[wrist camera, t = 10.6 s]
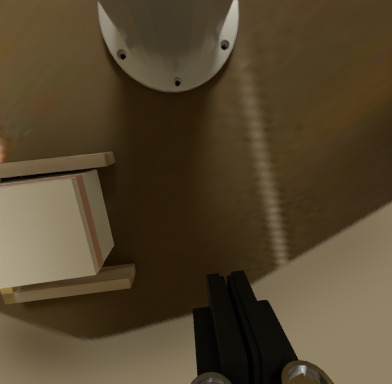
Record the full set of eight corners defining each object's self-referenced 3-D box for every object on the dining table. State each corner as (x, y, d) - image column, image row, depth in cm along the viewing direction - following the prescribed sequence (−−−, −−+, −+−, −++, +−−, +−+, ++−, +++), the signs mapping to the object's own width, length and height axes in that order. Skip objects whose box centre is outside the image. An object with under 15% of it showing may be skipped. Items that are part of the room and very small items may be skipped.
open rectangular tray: (-16, 165, 24) (-44, 169, 21) (113, 151, 24) (103, 153, 21) (24, 286, 27) (5, 304, 24) (136, 272, 28) (130, 288, 25)
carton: (11, 179, 24) (-43, 192, 18) (97, 168, 25) (71, 178, 19) (36, 256, 26) (-5, 289, 21) (115, 245, 27) (96, 275, 21)
